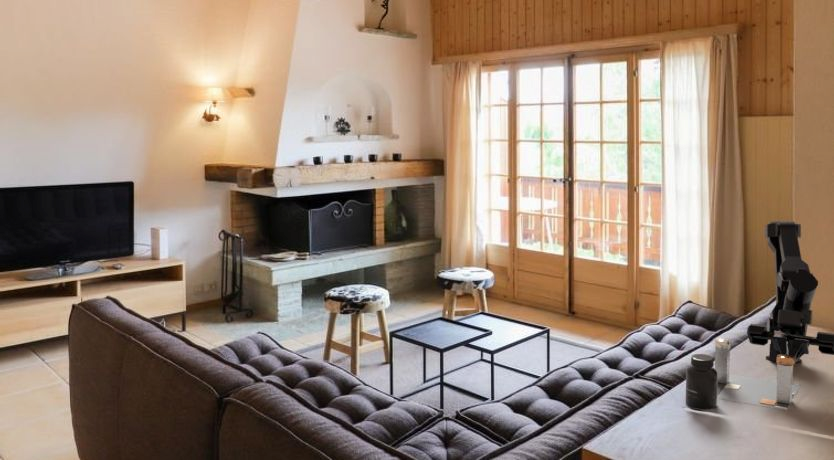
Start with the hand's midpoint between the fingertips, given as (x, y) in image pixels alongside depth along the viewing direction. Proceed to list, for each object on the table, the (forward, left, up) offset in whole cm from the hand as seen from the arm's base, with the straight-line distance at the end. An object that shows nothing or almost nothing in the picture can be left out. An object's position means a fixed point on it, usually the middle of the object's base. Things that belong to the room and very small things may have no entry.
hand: (786, 370), depth 164 cm
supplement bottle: (+19, -6, -8) cm, 21 cm away
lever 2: (+1, +1, -7) cm, 7 cm away
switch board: (+2, -8, -8) cm, 11 cm away
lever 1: (+5, -15, -7) cm, 17 cm away
